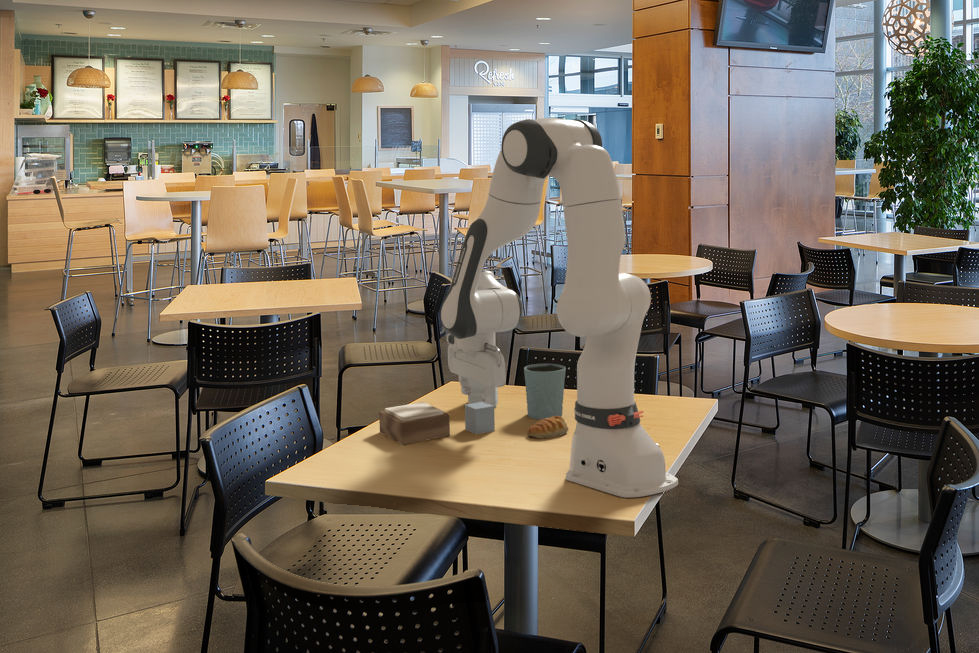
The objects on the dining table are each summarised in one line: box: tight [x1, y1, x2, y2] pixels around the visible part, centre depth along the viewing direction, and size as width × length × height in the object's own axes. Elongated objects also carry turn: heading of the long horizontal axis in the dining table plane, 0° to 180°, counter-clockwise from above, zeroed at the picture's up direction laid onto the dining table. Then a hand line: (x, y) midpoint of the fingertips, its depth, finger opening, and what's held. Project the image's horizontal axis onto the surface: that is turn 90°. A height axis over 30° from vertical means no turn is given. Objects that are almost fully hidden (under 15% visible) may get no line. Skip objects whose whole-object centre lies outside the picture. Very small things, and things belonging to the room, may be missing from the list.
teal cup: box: [523, 363, 567, 420], centre depth 219 cm, size 10×10×12 cm
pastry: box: [527, 416, 569, 439], centre depth 203 cm, size 9×7×4 cm
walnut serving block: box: [378, 401, 451, 445], centre depth 205 cm, size 12×12×6 cm
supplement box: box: [467, 379, 499, 408], centre depth 230 cm, size 7×7×13 cm
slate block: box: [464, 402, 496, 435], centre depth 207 cm, size 5×5×6 cm
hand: (476, 398), depth 207 cm, fingers open, 8 cm apart
